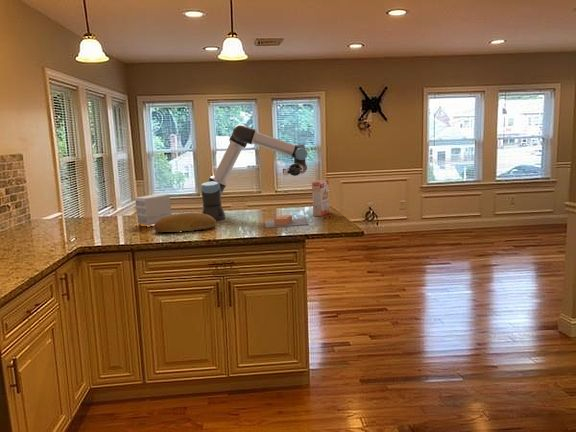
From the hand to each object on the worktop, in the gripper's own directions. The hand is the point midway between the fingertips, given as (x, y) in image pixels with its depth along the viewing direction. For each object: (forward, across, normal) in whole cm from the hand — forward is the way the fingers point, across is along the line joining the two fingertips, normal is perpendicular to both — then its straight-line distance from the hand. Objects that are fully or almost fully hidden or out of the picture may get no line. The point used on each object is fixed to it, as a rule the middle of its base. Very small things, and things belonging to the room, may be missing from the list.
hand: (284, 172), depth 281 cm
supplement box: (+15, +82, -30) cm, 88 cm away
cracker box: (-13, -19, -28) cm, 36 cm away
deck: (+11, -3, -25) cm, 28 cm away
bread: (+31, +51, -29) cm, 67 cm away
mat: (+15, -4, -28) cm, 32 cm away
